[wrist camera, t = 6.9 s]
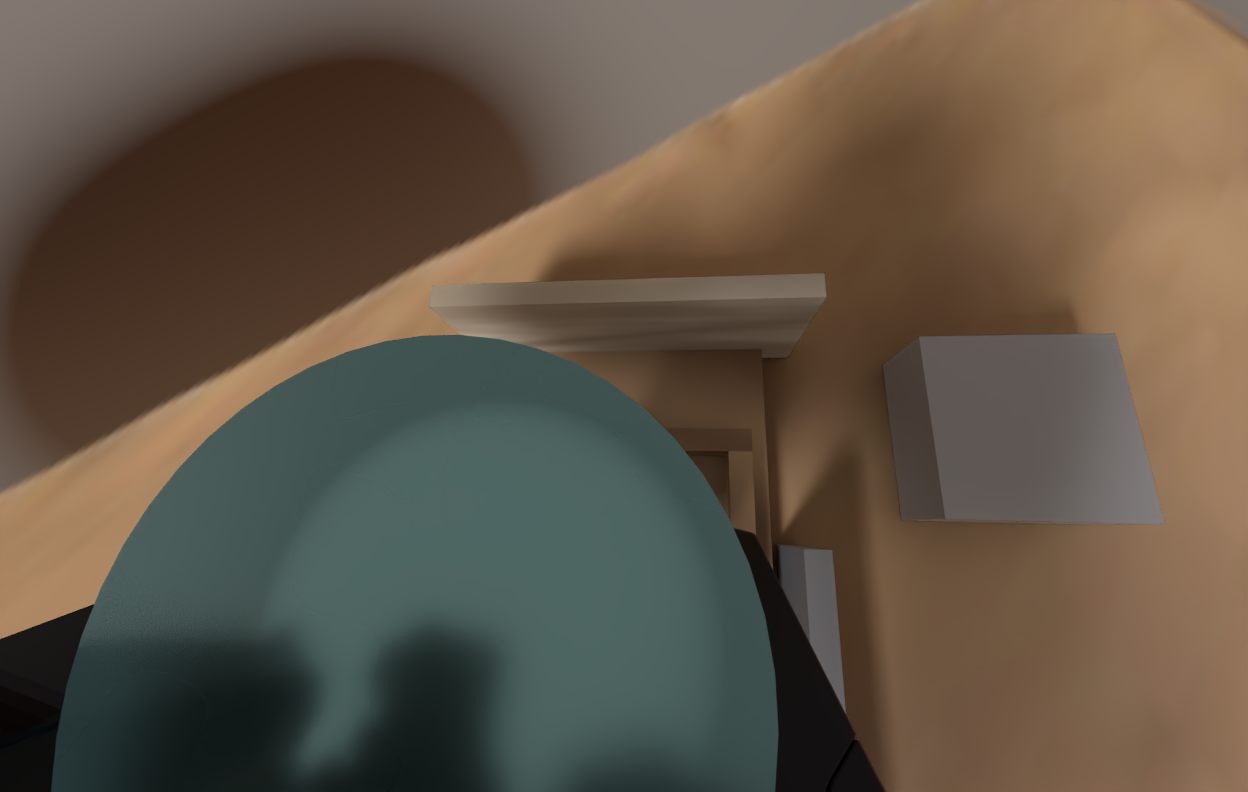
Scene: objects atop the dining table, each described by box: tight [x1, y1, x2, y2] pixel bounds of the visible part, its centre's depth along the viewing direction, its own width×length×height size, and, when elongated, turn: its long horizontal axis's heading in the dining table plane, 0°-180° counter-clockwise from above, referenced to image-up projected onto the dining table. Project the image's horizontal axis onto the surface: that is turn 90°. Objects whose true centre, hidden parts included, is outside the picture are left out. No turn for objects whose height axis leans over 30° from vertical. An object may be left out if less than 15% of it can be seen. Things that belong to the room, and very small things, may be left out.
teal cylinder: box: [51, 335, 779, 792], centre depth 8 cm, size 5×5×10 cm
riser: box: [883, 333, 1165, 525], centre depth 16 cm, size 6×6×3 cm
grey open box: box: [777, 545, 846, 713], centre depth 15 cm, size 13×13×4 cm
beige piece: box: [429, 273, 827, 569], centre depth 16 cm, size 13×13×5 cm
